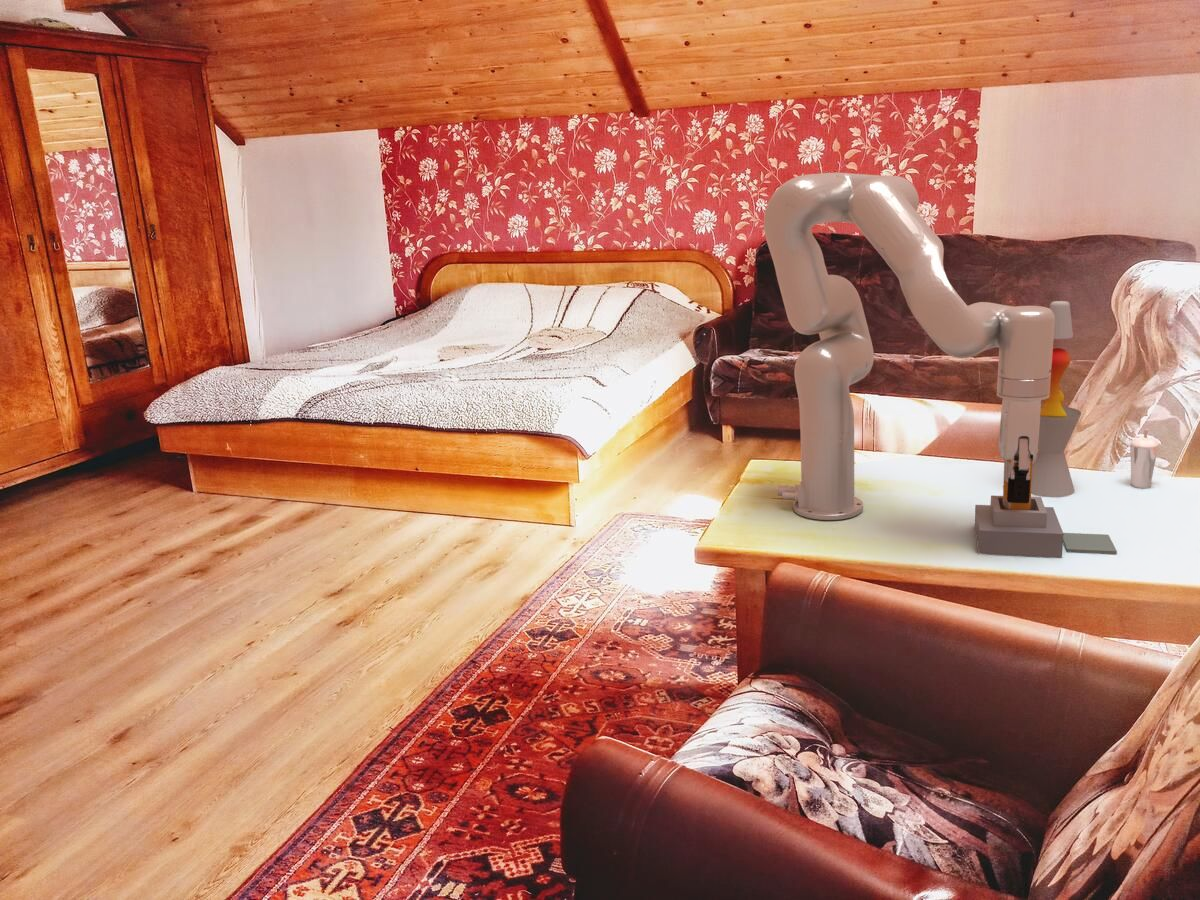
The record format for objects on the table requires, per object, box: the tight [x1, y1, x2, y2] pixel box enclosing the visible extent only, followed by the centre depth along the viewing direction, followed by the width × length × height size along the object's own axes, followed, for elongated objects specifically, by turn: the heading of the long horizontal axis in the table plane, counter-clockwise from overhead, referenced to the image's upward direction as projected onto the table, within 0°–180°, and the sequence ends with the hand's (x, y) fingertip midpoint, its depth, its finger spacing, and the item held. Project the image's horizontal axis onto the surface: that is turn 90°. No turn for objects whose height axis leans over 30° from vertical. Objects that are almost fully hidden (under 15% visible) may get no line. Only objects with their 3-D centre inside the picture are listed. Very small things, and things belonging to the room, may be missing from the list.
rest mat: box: [1063, 532, 1118, 555], centre depth 148 cm, size 7×7×1 cm
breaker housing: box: [974, 495, 1064, 559], centre depth 151 cm, size 12×12×6 cm
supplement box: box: [1002, 456, 1033, 510], centre depth 149 cm, size 3×3×10 cm
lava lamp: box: [1031, 300, 1082, 498], centre depth 169 cm, size 9×9×35 cm
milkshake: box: [1129, 428, 1160, 489], centre depth 171 cm, size 4×5×10 cm
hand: (1016, 496), depth 150 cm, fingers closed on supplement box, 3 cm apart
